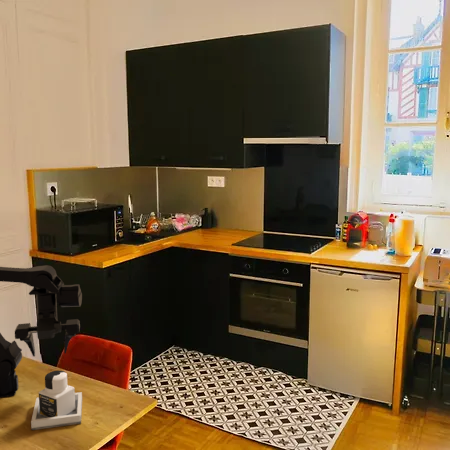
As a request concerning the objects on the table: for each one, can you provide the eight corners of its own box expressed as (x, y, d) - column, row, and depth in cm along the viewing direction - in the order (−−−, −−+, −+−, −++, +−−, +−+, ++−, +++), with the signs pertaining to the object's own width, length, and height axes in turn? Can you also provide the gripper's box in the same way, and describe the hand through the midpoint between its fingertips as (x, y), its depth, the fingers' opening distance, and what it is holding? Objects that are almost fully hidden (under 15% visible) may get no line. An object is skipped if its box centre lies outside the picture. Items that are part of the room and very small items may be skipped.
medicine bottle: (39, 414, 138) (36, 376, 136) (58, 403, 145) (56, 365, 143) (57, 421, 135) (55, 382, 133) (76, 409, 141) (74, 371, 139)
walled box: (31, 430, 132) (31, 421, 132) (37, 405, 144) (36, 397, 144) (81, 423, 135) (80, 415, 135) (82, 399, 148) (81, 392, 147)
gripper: (9, 319, 139) (13, 369, 141) (77, 313, 143) (80, 362, 146) (15, 306, 149) (19, 353, 152) (78, 301, 154) (81, 347, 157)
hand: (49, 354), depth 151 cm, fingers open, 9 cm apart
